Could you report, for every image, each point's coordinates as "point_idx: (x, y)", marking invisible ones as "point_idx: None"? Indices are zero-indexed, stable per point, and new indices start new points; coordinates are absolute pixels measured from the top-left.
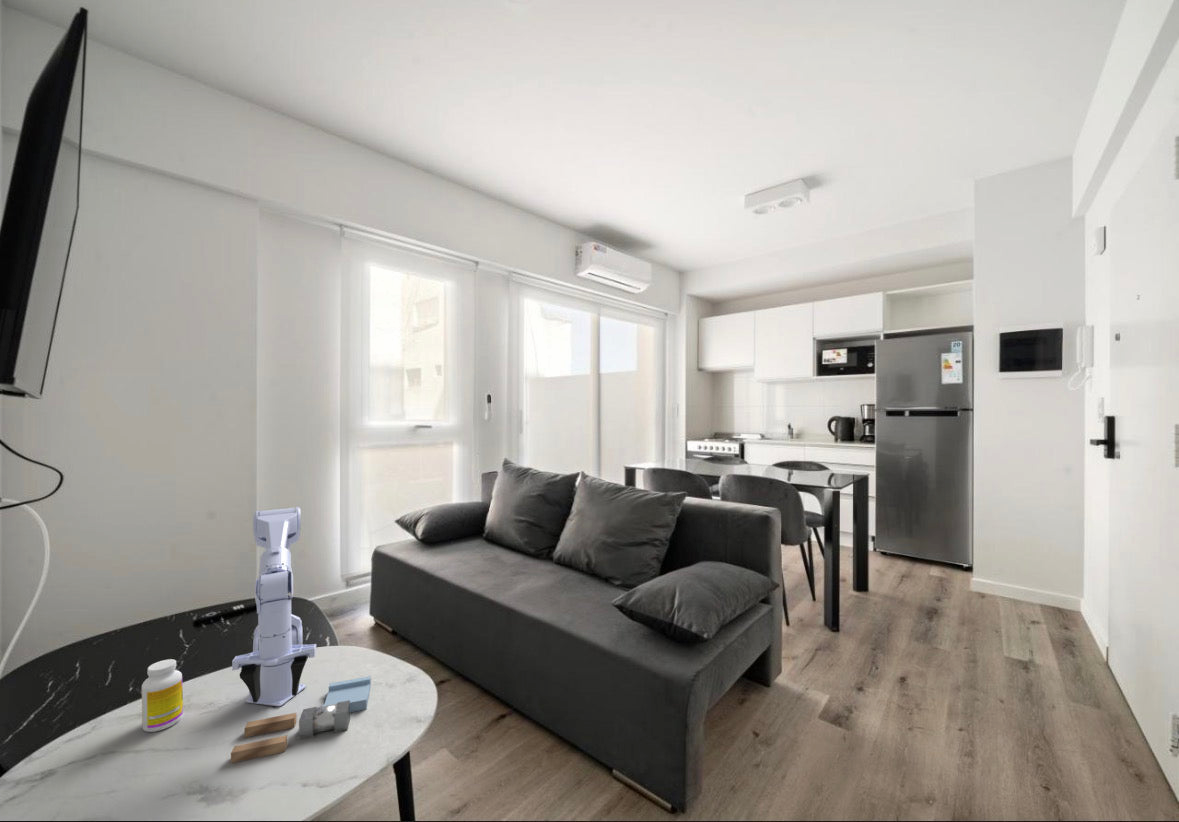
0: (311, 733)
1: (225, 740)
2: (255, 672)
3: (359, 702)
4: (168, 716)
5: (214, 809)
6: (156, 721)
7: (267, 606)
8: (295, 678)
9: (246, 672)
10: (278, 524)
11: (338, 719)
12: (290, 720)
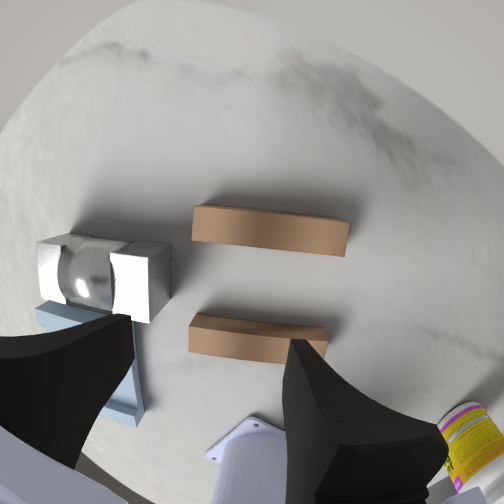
0: (136, 242)
1: (366, 334)
2: (312, 476)
3: (48, 310)
4: (463, 421)
5: (334, 51)
6: (477, 412)
7: None
8: (55, 338)
9: (396, 474)
10: None
11: (64, 241)
12: (200, 325)
